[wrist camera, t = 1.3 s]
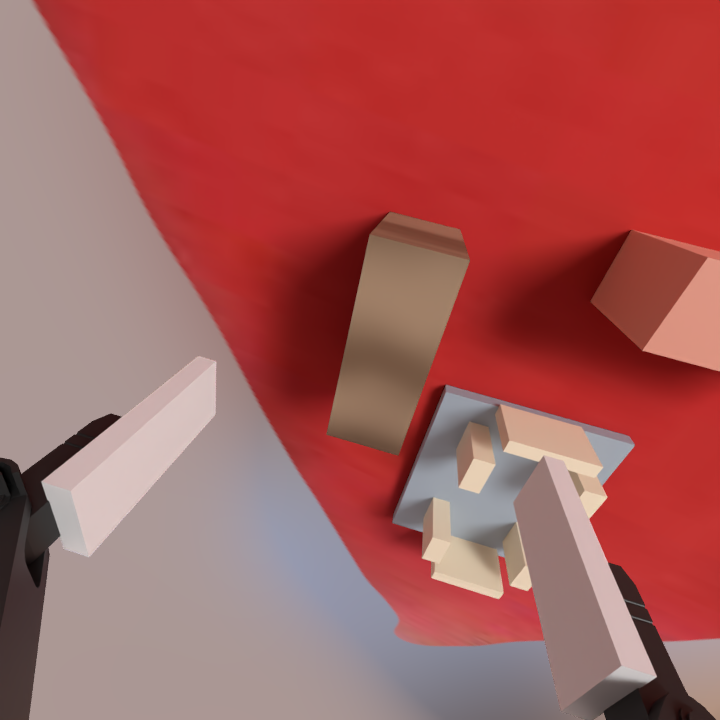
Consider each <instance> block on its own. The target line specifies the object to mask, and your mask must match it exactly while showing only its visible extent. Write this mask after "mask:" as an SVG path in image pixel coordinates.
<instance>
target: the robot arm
mask: <svg viewBox="0 0 720 720" xmlns="http://www.w3.org/2000/svg"><path fill="white" fill-rule="evenodd" d="M215 414H216V361H214V360H211V359H207V358H204V357H200V356H198V357H196V358H195V359H194V360H193V361H191V362H190V363H189V364H188V365H186V366H185V367H184V368H183V369H181V370H180V371H179V372H178V373H176V374H175V375H174V376H173V377H171V378H170V379H169V380H168V381H166V382H165V383H164V384H163V385H161V386H160V387H159V388H158V389H157V390H155V391H154V392H153V393H151V394H150V395H149V396H148V397H146V398H145V399H144V400H143V401H141V402H140V403H139V404H138V405H137V406H135V407H134V408H133V409H131V410H130V411H129V412H128V413H126V414H125V415H124V416H123V417H120V416H117V415H114V414H108V415H106V416H104V417H102V418H99V419H97V420H94V421H92V422H91V423H89V424H88V425H87V426H85V427H84V428H83V429H81V430H80V431H78V433H77V434H76V435H73V436H72V437H70V438H69V439H68V440H66V441H65V443H64V444H62V445H60V446H58V447H57V448H56V449H54V450H53V451H52V452H50V453H49V454H48V455H46V456H45V457H44V458H42V459H41V460H40V461H38V462H37V463H36V464H34V465H33V466H31V467H30V468H29V469H27V470H26V471H25V472H23V473H22V474H21V472H20V470H19V467H18V465H17V464H16V463H15V462H14V461H12V460H10V459H5V458H0V720H29V713H30V706H31V705H30V704H31V698H32V690H33V682H34V673H35V666H36V658H37V650H38V642H39V634H40V626H41V619H42V610H43V603H44V595H45V587H46V579H47V571H48V562H49V555H50V554H49V548H48V547H49V546H50V545H51V544H52V543H53V542H54V541H55V540H56V539H57V538H58V537H60V539H61V542H62V545H63V548H64V549H65V550H69V551H72V552H75V553H78V554H81V555H84V556H87V557H90V556H91V555H92V553H93V552H94V551H95V550H96V549H97V548H98V547H99V546H100V544H101V543H102V542H103V541H104V540H105V539H106V538H107V536H108V535H109V534H110V533H111V532H112V531H113V530H114V529H115V527H116V526H117V525H118V524H119V523H120V522H121V521H122V519H123V518H124V517H125V516H126V515H127V514H128V513H129V512H130V511H131V509H132V508H133V507H134V506H135V505H136V504H137V503H138V502H139V500H140V499H141V498H142V497H143V496H144V495H145V493H146V492H147V491H148V490H149V489H150V488H151V487H152V486H153V484H154V483H155V482H156V481H157V480H158V479H159V478H160V476H162V474H163V473H164V472H165V471H166V470H167V469H168V467H170V465H171V464H172V463H173V462H174V461H175V459H177V457H178V456H179V455H180V454H181V453H182V452H183V451H184V449H185V448H186V447H187V446H188V445H189V444H190V443H191V442H192V441H193V439H194V438H195V437H196V436H197V435H198V434H199V433H200V432H201V430H202V429H203V428H204V427H205V426H206V425H207V424H208V422H209V421H210V420H211V419H212V418H213V417H214V416H215ZM513 504H514V509H515V513H516V518H517V522H518V526H519V531H520V535H521V539H522V544H523V548H524V553H525V557H526V561H527V566H528V570H529V575H530V579H531V583H532V588H533V592H534V596H535V601H536V605H537V610H538V614H539V618H540V623H541V627H542V632H543V636H544V640H545V645H546V649H547V653H548V658H549V662H550V667H551V671H552V675H553V680H554V684H555V688H556V693H557V697H558V702H559V706H560V710H561V712H564V713H566V714H570V715H573V716H576V717H579V718H582V719H585V720H593V719H595V718H596V717H598V716H599V715H601V714H602V713H604V715H605V718H606V720H716V719H715V718H714V717H713V716H712V715H711V714H710V713H709V712H708V711H707V710H706V709H705V707H703V706H702V705H701V704H700V703H698V702H697V701H696V700H694V699H693V698H692V697H690V696H688V694H687V692H686V690H685V688H684V687H683V684H682V682H681V680H680V678H679V676H678V674H677V672H676V669H675V668H674V665H673V663H672V662H671V659H670V657H669V655H668V653H667V651H666V649H665V646H664V644H663V642H662V640H661V638H660V636H659V634H658V632H657V629H656V627H655V626H653V624H652V622H653V621H652V619H651V617H650V615H649V613H648V611H647V609H645V604H644V602H643V600H642V598H641V596H640V594H639V592H638V589H637V587H636V585H635V584H634V583H633V581H632V580H631V579H630V578H629V576H628V575H627V574H626V573H625V571H624V570H623V569H622V567H621V566H618V565H615V564H611V563H608V562H607V560H606V558H605V555H604V553H603V551H602V548H601V546H600V544H599V541H598V539H597V537H596V534H595V532H594V530H593V527H592V525H591V523H590V521H589V518H588V516H587V514H586V511H585V509H584V507H583V504H582V502H581V500H580V497H579V495H578V493H577V490H576V488H575V486H574V483H573V481H572V479H571V477H570V474H569V472H568V470H567V467H566V465H565V463H564V461H562V460H559V459H555V458H552V457H548V456H545V455H543V457H542V458H541V460H540V461H539V463H538V465H537V466H536V468H535V469H534V471H533V472H532V474H531V476H530V477H529V479H528V480H527V482H526V483H525V485H524V486H523V488H522V490H521V491H520V493H519V494H518V496H517V497H516V499H515V500H514V502H513Z"/></svg>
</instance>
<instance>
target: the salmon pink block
mask: <svg viewBox="0 0 720 720" xmlns="http://www.w3.org/2000/svg"><path fill="white" fill-rule="evenodd" d="M590 302H591V303H592V304H593V305H594V306H595V307H596V308H597V309H598V310H599V311H600V312H602V313H603V314H604V315H605V316H606V317H607V318H608V319H609V320H610V321H611V322H612V323H613V324H614V325H615V326H616V327H618V328H619V329H620V330H621V331H622V332H623V333H624V334H625V335H626V336H627V337H628V338H629V339H630V340H631V341H633V342H634V343H635V344H636V345H637V346H638V347H639V348H640V349H641V350H642V351H646V352H649V353H653V354H657V355H661V356H664V357H668V358H672V359H675V360H679V361H683V362H687V363H690V364H694V365H698V366H702V367H705V368H709V369H713V370H716V371H720V252H719V251H715V250H711V249H707V248H703V247H699V246H695V245H691V244H687V243H683V242H679V241H675V240H671V239H667V238H663V237H659V236H655V235H651V234H647V233H643V232H639V231H635V230H631V231H630V233H629V235H628V237H627V238H626V240H625V242H624V243H623V245H622V247H621V249H620V250H619V252H618V254H617V256H616V257H615V259H614V261H613V263H612V264H611V266H610V268H609V270H608V271H607V273H606V275H605V277H604V278H603V280H602V282H601V284H600V285H599V287H598V289H597V290H596V292H595V294H594V296H593V297H592V299H591V301H590Z"/></svg>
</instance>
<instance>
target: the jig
mask: <svg viewBox="0 0 720 720" xmlns="http://www.w3.org/2000/svg"><path fill="white" fill-rule="evenodd" d="M634 446H635V444H634V443H633V441H632V440H631V438H630V437H629V436H627V435H623V434H620V433H616V432H613V431H609V430H606V429H602V428H598V427H595V426H591V425H588V424H584V423H581V422H577V421H573V420H570V419H566V418H563V417H559V416H556V415H552V414H548V413H545V412H541V411H538V410H534V409H531V408H527V407H524V406H520V405H516V404H513V403H509V402H506V401H502V400H499V399H495V398H491V397H488V396H484V395H481V394H477V393H474V392H470V391H467V390H463V389H459V388H456V387H452V386H449V385H445V388H444V390H443V393H442V395H441V398H440V400H439V403H438V405H437V408H436V410H435V413H434V415H433V418H432V420H431V423H430V425H429V428H428V430H427V432H426V435H425V437H424V440H423V442H422V445H421V447H420V450H419V452H418V455H417V457H416V460H415V462H414V465H413V467H412V470H411V472H410V475H409V477H408V479H407V482H406V484H405V487H404V489H403V492H402V494H401V497H400V499H399V502H398V504H397V507H396V509H395V512H394V514H393V522H392V523H394V524H397V525H401V526H404V527H407V528H410V529H414V530H417V531H420V532H423V543H422V558H423V559H426V560H429V561H431V578H433V579H436V580H439V581H442V582H446V583H449V584H452V585H455V586H458V587H462V588H465V589H468V590H471V591H474V592H478V593H481V594H484V595H487V596H490V597H494V598H497V599H499V598H500V597H501V596H502V595H503V593H504V592H503V586H502V579H501V573H500V566H499V559H498V555H499V556H502V557H505V560H506V566H507V572H508V578H509V584H510V586H513V587H516V588H520V589H523V590H526V591H528V590H529V589H530V588H531V586H532V583H531V579H530V575H529V570H528V566H527V561H526V557H525V553H524V548H523V544H522V539H521V535H520V531H519V526H518V522H517V518H516V513H515V509H514V504H513V502H514V500H515V499H516V497H517V496H518V494H519V493H520V491H521V490H522V488H523V486H524V485H525V483H526V482H527V480H528V479H529V477H530V476H531V474H532V472H533V471H534V469H535V468H536V466H537V465H538V463H539V461H540V460H541V458H542V457H543V455H545V456H548V457H552V458H555V459H559V460H562V461H564V463H565V465H566V467H567V470H568V472H569V474H570V477H571V479H572V481H573V483H574V486H575V488H576V490H577V493H578V495H579V497H580V500H581V502H582V504H583V507H584V509H585V511H586V514H587V516H588V518H590V517H591V516H592V515H593V514H594V513H595V511H596V510H597V509H598V508H599V507H600V506H601V504H602V503H603V502H604V501H605V500H606V498H607V495H606V493H605V491H604V489H603V487H602V485H603V484H604V482H605V481H606V480H607V479H608V478H609V476H610V475H611V474H612V473H613V471H614V470H615V469H616V468H617V467H618V465H619V464H620V463H621V462H622V461H623V459H624V458H625V457H626V456H627V454H628V453H629V452H630V451H631V450H632V448H633V447H634Z"/></svg>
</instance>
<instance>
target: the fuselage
mask: <svg viewBox="0 0 720 720" xmlns="http://www.w3.org/2000/svg"><path fill="white" fill-rule="evenodd" d="M469 262H470V259H469V256H468V253H467V249H466V246H465V243H464V240H463V237H462V234H461V231H460V229H456V228H452V227H448V226H444V225H440V224H436V223H433V222H429V221H425V220H421V219H417V218H413V217H409V216H405V215H401V214H397V213H393V212H389V213H388V214H387V216H386V217H385V218H384V219H383V220H382V221H381V222H380V223H379V224H378V226H377V227H376V228H375V229H374V230H373V231H372V232H371V233H370V235H369V240H368V244H367V249H366V254H365V258H364V263H363V268H362V272H361V277H360V281H359V286H358V291H357V295H356V300H355V305H354V309H353V314H352V319H351V323H350V328H349V333H348V337H347V342H346V346H345V351H344V356H343V360H342V365H341V370H340V374H339V379H338V384H337V388H336V393H335V397H334V402H333V407H332V411H331V416H330V421H329V425H328V430H327V435H330V436H333V437H337V438H340V439H343V440H347V441H350V442H354V443H357V444H360V445H364V446H367V447H371V448H374V449H377V450H381V451H384V452H388V453H391V454H394V455H399V452H400V450H401V447H402V444H403V441H404V439H405V436H406V433H407V430H408V428H409V425H410V422H411V420H412V417H413V414H414V411H415V409H416V406H417V403H418V400H419V398H420V395H421V392H422V390H423V387H424V384H425V381H426V379H427V376H428V373H429V371H430V368H431V365H432V362H433V360H434V357H435V354H436V351H437V349H438V346H439V343H440V341H441V338H442V335H443V332H444V330H445V327H446V324H447V321H448V319H449V316H450V313H451V311H452V308H453V305H454V302H455V300H456V297H457V294H458V291H459V289H460V286H461V283H462V281H463V278H464V275H465V272H466V270H467V267H468V264H469Z"/></svg>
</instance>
